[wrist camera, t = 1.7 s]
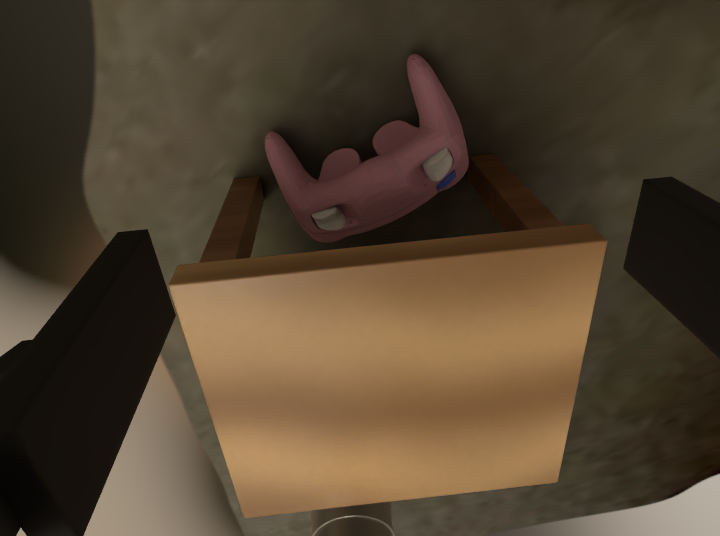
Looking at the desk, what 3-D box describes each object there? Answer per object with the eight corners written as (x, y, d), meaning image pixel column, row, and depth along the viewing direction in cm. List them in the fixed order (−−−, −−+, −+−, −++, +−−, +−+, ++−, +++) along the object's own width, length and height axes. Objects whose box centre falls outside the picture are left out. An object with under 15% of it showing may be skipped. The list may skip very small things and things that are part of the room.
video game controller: (293, 181, 30) (319, 273, 26) (252, 131, 26) (275, 229, 22) (443, 103, 28) (493, 189, 24) (421, 38, 25) (477, 127, 21)
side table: (222, 170, 28) (167, 285, 18) (502, 143, 28) (608, 240, 18) (265, 359, 35) (243, 519, 25) (488, 335, 35) (557, 482, 25)
